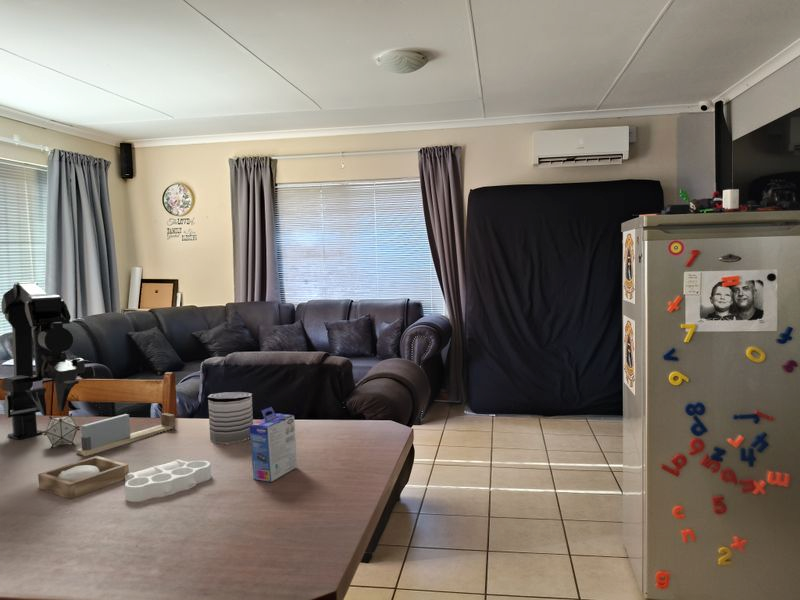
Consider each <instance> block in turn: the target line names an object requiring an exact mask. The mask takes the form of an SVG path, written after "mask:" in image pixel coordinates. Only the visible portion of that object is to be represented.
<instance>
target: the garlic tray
mask: <svg viewBox="0 0 800 600" xmlns="http://www.w3.org/2000/svg"><path fill="white" fill-rule="evenodd" d="M81 465H91V466H96V467H97V468H98V469H99V471H100V473H97V474H94V475H91V476H88V477H85V478H82V479H79V480H76V481H73V482H69V481H66V480H63V479H60V478H58V477H59V474H60V473H61V472H62V471H66V470H68V469H71V468H73V467H76V466H81ZM129 468H130V467H129V464H128V463H125V462H122V461H121V462H120V461H117V460H114V459H110V458H107V457H103V456H99V455H95V456H92V457H91V456H90V457H89V458H86V459H82V460H79V461H76V462H73V463H70V464H65V465H64V466H60V467H57V468H53V469H50V470H48V471H44V472H41V473H39V474H37V478H38V479H37V481H38V488H39V489H41V490H44V491H47V492H49V493H52V494H54V493H55V495H58V496H60V497H63V498H66V499H69V500H72V499H74V498H77V497H80V496H82V495H86V494H88V493H91V492H93V491H96V490H99V489H102V488H105V487H107V486H110V485H113V484H117V483H119V482H121V481H123V480H125V475H127V474H128V473H130V471H129V470H130V469H129Z"/></svg>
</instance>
